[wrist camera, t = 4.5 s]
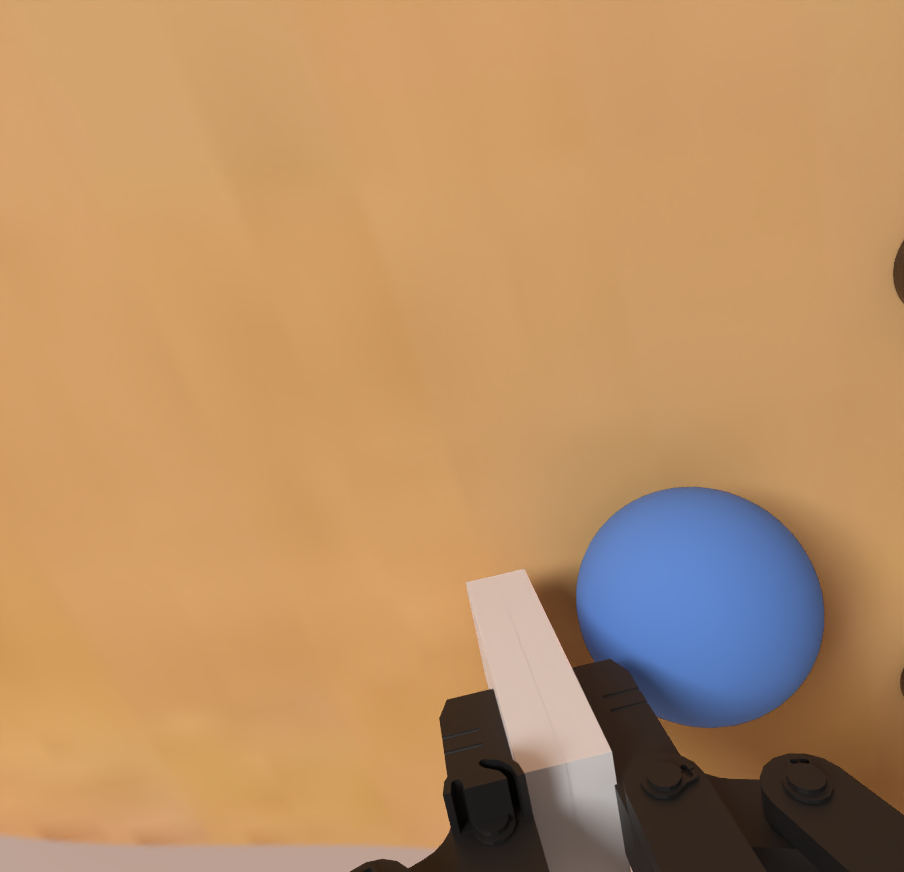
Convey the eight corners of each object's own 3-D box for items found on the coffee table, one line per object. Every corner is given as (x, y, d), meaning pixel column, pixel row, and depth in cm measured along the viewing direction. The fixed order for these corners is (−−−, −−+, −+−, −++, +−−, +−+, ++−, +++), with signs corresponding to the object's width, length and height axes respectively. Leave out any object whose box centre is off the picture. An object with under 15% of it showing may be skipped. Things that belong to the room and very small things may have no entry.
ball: (512, 518, 16) (654, 444, 19) (548, 712, 18) (676, 615, 21) (722, 580, 12) (864, 471, 15) (748, 831, 13) (873, 685, 16)
